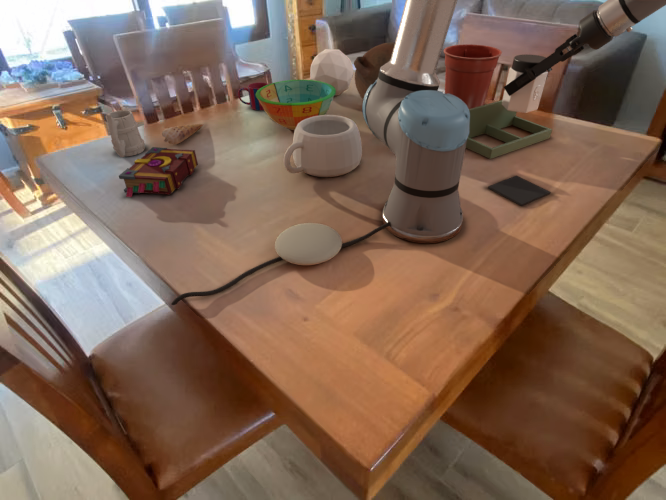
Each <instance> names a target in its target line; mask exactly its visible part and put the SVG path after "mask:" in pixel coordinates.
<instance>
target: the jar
mask: <svg viewBox="0 0 666 500" xmlns="http://www.w3.org/2000/svg"><path fill="white" fill-rule="evenodd" d="M545 58H547V56H543V55H537V54H528V53H527V54H526V53H525V54H518V55H515V56H514V57H513V60H512V64H511V66H510V67H509V69H508V74H507V78H506V82H505V86H506V85H507V84H509V83H510V82H512V81H513V80H514V79H516V78H517V77H519V76H520V75H522V74H523V73H524V72H526V70H525V69H526V68H527V67H528V69H531V68H532V67H534V66H535V65H537V64H538V63H540V62H541V61H542V60H544V59H545ZM548 74H549V72H548V71H545V72H544V73H542V74H541V75H539V76H538V77H536V79H535V80H533V81H531V82H530V83H528V84H527V85H525V86H524V87H522V88H521V89H519V90H518V91H516V92H515V93H514V94H512V95H511V96H509V95H508V93H507V92H506V90H505V89H504V91H503V96H502V99H501V100H502V105H503V106H504V107H505V108H506V109H507V110H508V111H514V112H517V113H520V114H521V113H522V114H527V113H531V112H534V111H537V110H538V108H539V106H540V102H541V98H542V95H543V91H544V89H545V85H546V81H547V79H548ZM535 75H536V74H535Z"/></svg>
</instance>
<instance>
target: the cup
mask: <svg viewBox="0 0 666 500" xmlns="http://www.w3.org/2000/svg"><path fill="white" fill-rule="evenodd" d="M268 84H269V83H268V82H261V81H260V82H259V81H257V82H252V83H250V84H248V85H247V87H241V88H239V89H238V91H237V97H238V99H239V101H240V102H241V103H242V104H244V105H247V106H250V109H251V110H253V111H265V110H264V108H263V107H262V105H261V104H260V102H259V100H258V99H257V98H256V92H257V91H258V90H259V89H260V88H262V87H263V86H266V85H268ZM241 91H246V92H248V99H249V101H248V102H247V101H245V100H243V99H242V98H241Z"/></svg>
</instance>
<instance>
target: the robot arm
mask: <svg viewBox="0 0 666 500" xmlns="http://www.w3.org/2000/svg"><path fill="white" fill-rule="evenodd" d="M458 2H459V1H458V0H405V3H404V6H403V10H402V14H401V18H400V22H399V26H398V30H397V34H396V38H395V41H394V42H395V45H394V49H393V53H392V57H391V59H390V61H389V62H388V63H386V64H385V65H383V66H382V67H381V68H380V71H379V75H378V79H377V80H376V81H375V82H374V83H373V84H371V85H370V87H369V88H368V90H367V91H366V93H365V96H364V99H362V108H361V109H362V117H363V119H364V122H365V124H366V126H367V127H368V129H369V130H370V131H371V133H372V135H374V136H375V138H377V139H378V140H379V141H381V142H382V143H383V144H384V145H385V146H386V147H387V148H388V149H389V151H391V152H392V153H393V154H394V155H395V166H394V168H395V170H394V181H393V185H392V188H391V191H390V193H389V194H388V195H389V196H388V199H386V201H385V204H384V206H383V208H382V223H383V224H382V225H380V226H378V227H376V228H374V229H373V230H371V231H370V232H368V233H367V234H364V235H362V236H360V237H357V238H355V239H353V240H352V239H351V240H349V241H346V242H344V243H343V242H342V246H341V249H344V248H346V247H350V246H353V245H356V244H357V243H360V242H363V241H365V240H367V239H369V238H371V237H372V236H374V235H376V234H377V233H379V232H380V231H382V230H385V229H386V230H387V231H388V232H390V233H391V234H392V235H394V236H395V237H397V238H399V239H402V240H404V241H408V242H412V243H417V244H436V243H441V242H442V243H443V242H445V241H448V240H451V239H453V238H454V237H455V236H457V235H458V234H459V233H460V231H461V230H462V226H463V221H464V213H463V209H462V207H461V198H460V192H459V185H460V180H461V176H462V169H463V163H464V158H465V154H466V149H467V148H466V142H467V138H468V136H469V125H470V112H469V109H468V107H467V105H466V104H465V103H464V102H463V101H462V100H461V99H459V98H458V97H456V96H454V95H452V94H449V93H448V94H445V92H444V91H440V90H439V88H440V85H441V81H440V79H439V77H438V75H437V73H436V71H437V70H436V69H437V67H438V64H439V61H440V57H441V55H442V52H443V48H444V44H445V42H446V39H447V36H448V32H449V30H450V26H451V23H452V20H453V16H454V14H455V10H456V7H457V4H458ZM665 6H666V0H605V1H603V3H602V4H600V5H598V8H597V9H594V10H592V11H591V12H589V13H588V14H587V15H585V16H584V17H582V18H581V19H580V20H579V22H578V30H579V31H580V33H579V35H578V34H577V33H575V34H573V35H571V36H570V37H568V38H567V39H566V40H565V41H564V42H563V43H562V44H560V45H558V46H557V47H555V49H554V52H552V53H551V54H549V55H548V56H546V58H545V59H544V60H542V61H541V62H540V63H538V64H537V65H535V66H534V67H532V68H531V69H528V67H527V68H526V69H525V70H526V72H524V73H523V74H522V75H520V76H519V77H517V78H516V79H514V80H513V81H512V82H510V83H509V84H507V85H506V84H505V86H503V89H504V91H505V90H506V92H507V93H508V95H509V96H511V95H512V94H514V93H515V92H516V91H518V90H519V89H521V88H522V87H524V86H525V85H527V84H528V83H530V82H531V81H533V80H535V79H536V77H538V76H539V75H541V74H542V73H544V72H545V71H547V72H548V73H550V72H551V71H553V67H554V66H555V65H557V64H559V63H564V62H565V61H567V60H568V59H570V58H571V57H573V56H576V55H578V54H579V53H580V52H582V51H583V50H584V49H585V46H584V45H588V46H589V47H590V48H591V49H592V50H597V51H598V50H600V49H601V48H602V47H604V46H605V45H607V44H608V43H610V42H611V41H613V39H614V37H619V36H620V35H622V34H623V33H625V32H627V33H631V32H632V31H633V26H635V25H637V24H639V23H641V22H642V21H643V20H645V19H646V18H648V17H649V16H651V15H653V14H655V12H657V11H659V10H660V9H662V8H664V7H665ZM535 74H536V75H535ZM281 261H285V260H284V259H282V258H281V257H280V256H277V257H274V258H272V259H270V260H267V261H264V262H262V263H260V264H258V265H256V266H254V267H252V268H250V269H248V270H247V271H245V272H243V273H241V274H239V276H237V277H235V278H234V279H233V280H231V281H229V282H228V283H225V284H223V285H222V286H219V287H218V288H214V289H212V290H207V291H188V292H185V293H182V294H180V295H178V296H176V297H175V299H174V300H173V301H172V302H171V303H170V305H171V306H176V305H177V304H178V303H180V301H182V300H184V299H186V298H192V297H209V296H214V295H217V294H219V293H221V292H224V291H226V290H228V289H231V287H233V286H234V285H237V284H238V283H240V282H241V281H242V280H243V279H245V278H247V277H248V276H250V275H251V274H254V273H256V272H257V271H260V270H262V269H264V268H266V267H268V266H270V265H273V264H276V263H278V262H281Z"/></svg>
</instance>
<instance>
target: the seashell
mask: <svg viewBox="0 0 666 500" xmlns="http://www.w3.org/2000/svg"><path fill="white" fill-rule="evenodd" d="M204 125H205V123H195V124H184V125H183V124H182V125H177V126H176V125H175V126H171V127H167V128H165V129H163V130H162V131H161V136H162V137H163V138H164V139H163V142H164V143H169V144H170V145H178V144H181V143H182V142H184V141H185V140H187V139H188V138H190V137H191V136H193V135H195V133H197V131H199V130H200V129H201V128H202V127H203V126H204Z"/></svg>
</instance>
